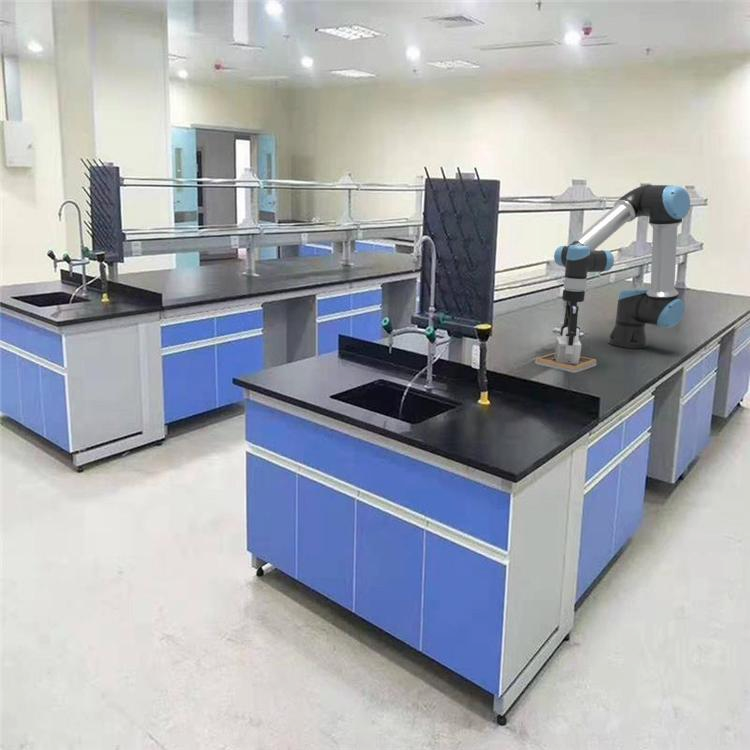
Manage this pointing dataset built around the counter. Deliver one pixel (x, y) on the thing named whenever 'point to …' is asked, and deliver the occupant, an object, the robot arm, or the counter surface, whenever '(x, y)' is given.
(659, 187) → the robot arm
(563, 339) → the container
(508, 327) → the counter surface
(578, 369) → the wooden square frame
